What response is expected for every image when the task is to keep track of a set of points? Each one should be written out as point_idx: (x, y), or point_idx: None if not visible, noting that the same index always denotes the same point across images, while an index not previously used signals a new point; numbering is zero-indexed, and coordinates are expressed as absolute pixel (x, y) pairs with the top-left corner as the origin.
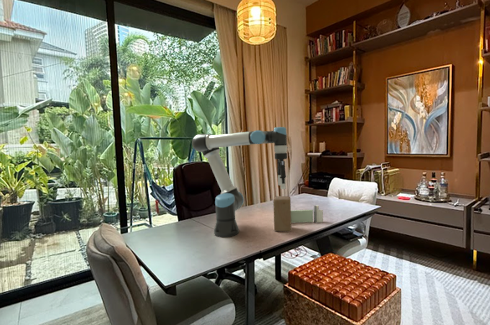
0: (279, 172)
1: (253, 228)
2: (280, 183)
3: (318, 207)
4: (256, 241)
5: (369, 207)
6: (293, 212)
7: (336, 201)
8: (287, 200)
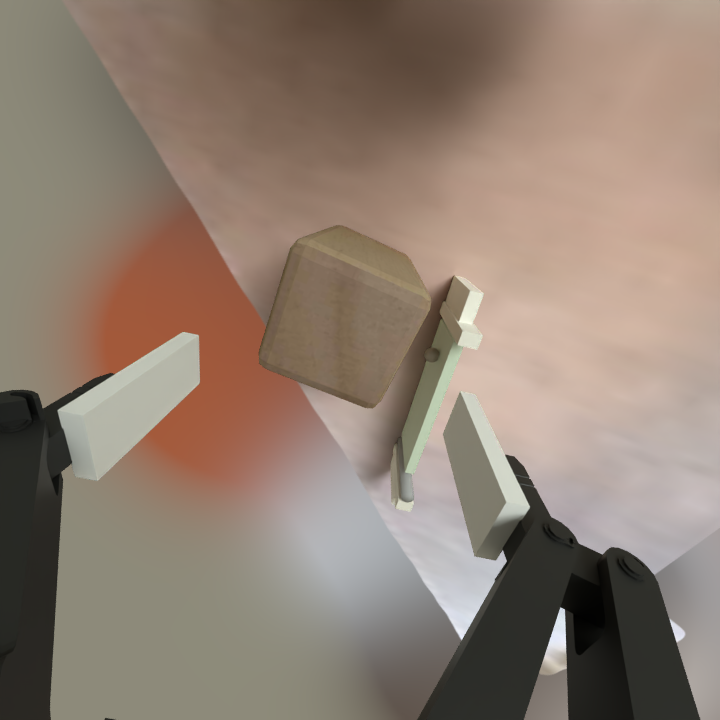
0: (497, 581)
1: (431, 106)
2: (456, 429)
3: (395, 501)
4: (210, 67)
5: None
6: (433, 385)
7: None
8: (260, 348)
